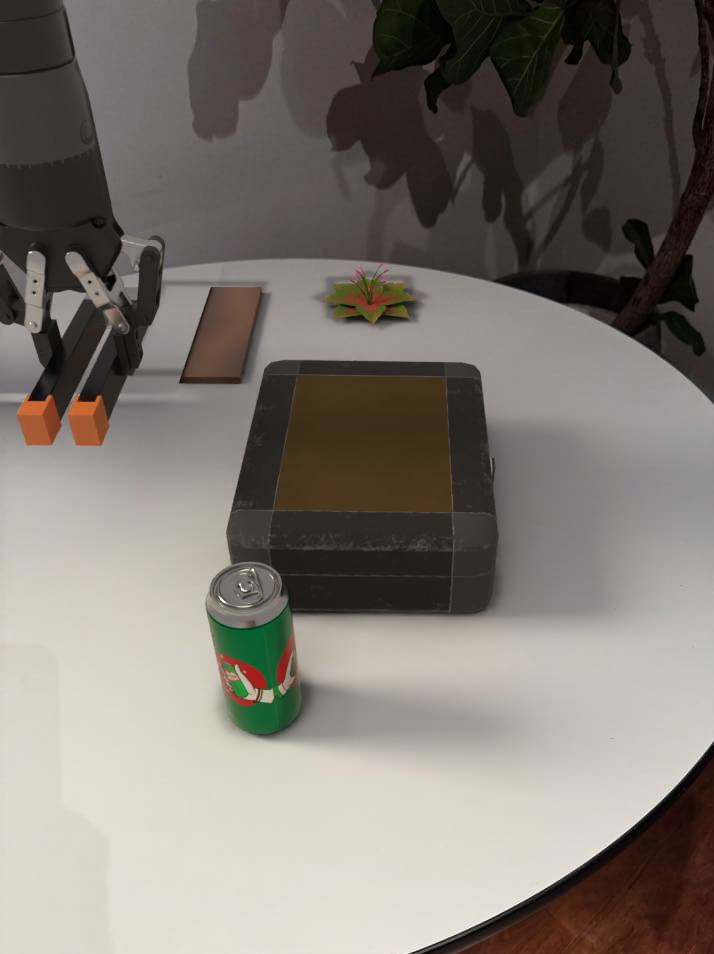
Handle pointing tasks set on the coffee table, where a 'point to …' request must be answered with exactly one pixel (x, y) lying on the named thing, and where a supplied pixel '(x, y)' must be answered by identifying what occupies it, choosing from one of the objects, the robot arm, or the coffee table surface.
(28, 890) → the coffee table surface
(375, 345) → the coffee table surface
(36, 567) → the coffee table surface
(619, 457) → the coffee table surface
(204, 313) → the board
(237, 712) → the soda can
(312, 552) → the cash box
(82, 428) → the tongs
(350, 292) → the lily flower
